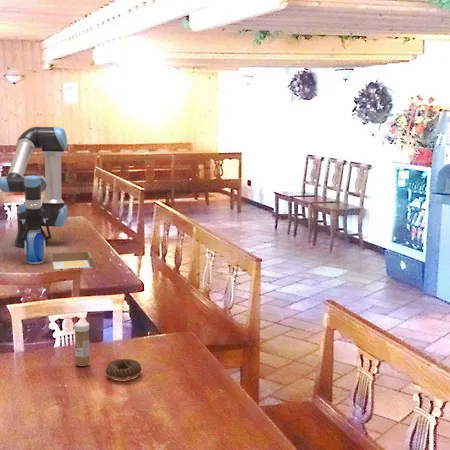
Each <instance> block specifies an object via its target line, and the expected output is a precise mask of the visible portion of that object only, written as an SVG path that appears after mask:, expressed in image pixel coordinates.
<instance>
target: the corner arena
mask: <svg viewBox="0 0 450 450" xmlns="http://www.w3.org/2000/svg"><path fill="white" fill-rule="evenodd" d="M51 256H52V257H51V259H52V261H51V262H52V267H53V266H54V267H53V271H54V270H57V271H59V270H58V269H67V268H79V267H80V268H83V269H82V270H86V269H89V270H90V269H93V267H94V266H93V264H94V262H93V259H94V258H93V256H92V254H91V252H90V250H88V251H86V250H84V251H69V252H68V251H65V252H52V253H51Z"/></svg>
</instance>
